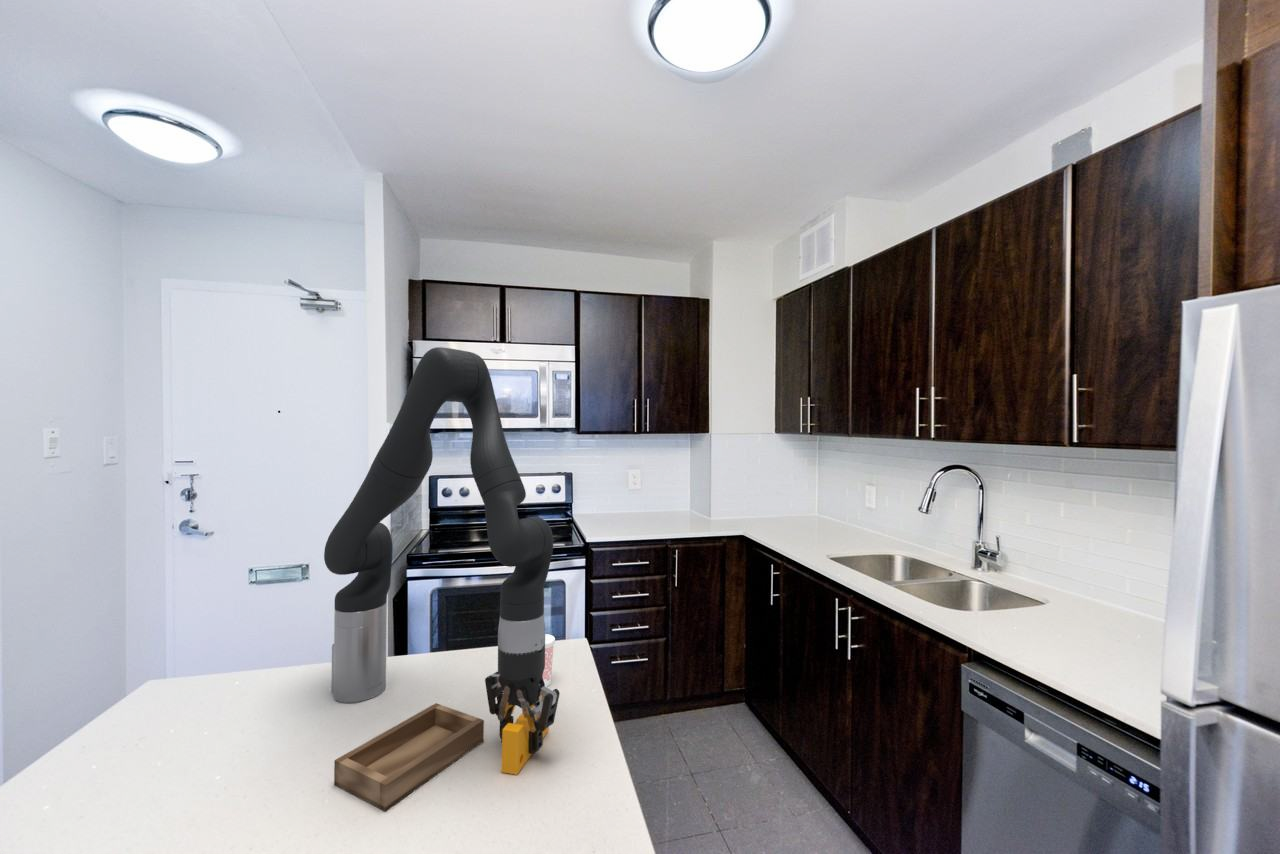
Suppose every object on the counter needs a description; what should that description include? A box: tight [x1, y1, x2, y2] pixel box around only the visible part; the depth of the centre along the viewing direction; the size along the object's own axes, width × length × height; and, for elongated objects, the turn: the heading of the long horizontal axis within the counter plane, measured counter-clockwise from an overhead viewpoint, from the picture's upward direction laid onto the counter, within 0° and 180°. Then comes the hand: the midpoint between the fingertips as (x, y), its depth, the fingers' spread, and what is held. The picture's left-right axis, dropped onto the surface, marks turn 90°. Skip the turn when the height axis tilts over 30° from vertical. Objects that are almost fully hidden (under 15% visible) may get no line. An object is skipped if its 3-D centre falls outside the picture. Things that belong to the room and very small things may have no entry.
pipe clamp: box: [501, 695, 550, 776], centre depth 86 cm, size 12×4×6 cm, turn 167°
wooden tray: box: [333, 702, 485, 812], centre depth 82 cm, size 11×18×4 cm, turn 152°
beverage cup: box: [543, 633, 556, 687], centre depth 108 cm, size 6×6×14 cm
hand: (520, 745), depth 85 cm, fingers closed on pipe clamp, 5 cm apart
